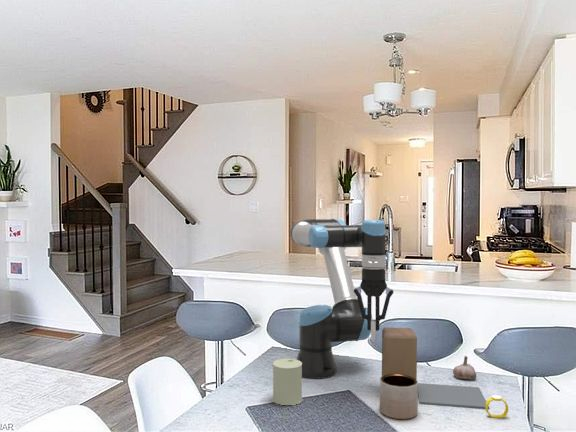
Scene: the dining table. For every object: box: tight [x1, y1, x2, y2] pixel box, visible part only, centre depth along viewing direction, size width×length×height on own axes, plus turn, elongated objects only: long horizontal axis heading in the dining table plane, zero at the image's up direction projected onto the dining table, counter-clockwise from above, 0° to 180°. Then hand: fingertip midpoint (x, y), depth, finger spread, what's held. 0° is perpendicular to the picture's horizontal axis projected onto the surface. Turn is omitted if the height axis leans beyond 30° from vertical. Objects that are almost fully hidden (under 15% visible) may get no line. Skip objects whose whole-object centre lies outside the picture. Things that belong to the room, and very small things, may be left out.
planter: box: [379, 374, 419, 421], centre depth 143 cm, size 11×11×10 cm
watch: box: [484, 394, 509, 419], centre depth 140 cm, size 6×3×6 cm, turn 84°
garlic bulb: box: [452, 355, 477, 380], centre depth 171 cm, size 8×7×8 cm
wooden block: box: [381, 326, 418, 381], centre depth 158 cm, size 10×10×20 cm
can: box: [272, 358, 303, 406], centre depth 152 cm, size 9×9×12 cm
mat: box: [418, 382, 490, 410], centre depth 155 cm, size 20×16×1 cm
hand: (373, 340), depth 159 cm, fingers closed
